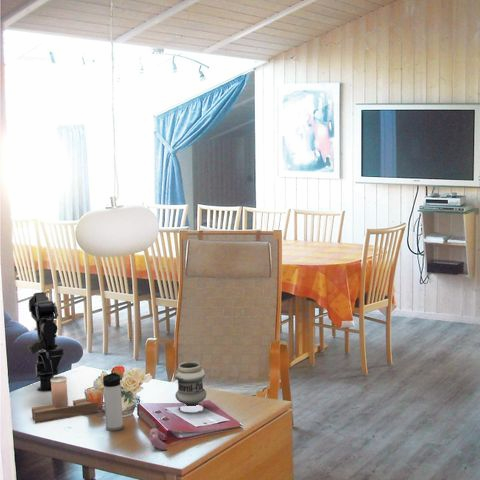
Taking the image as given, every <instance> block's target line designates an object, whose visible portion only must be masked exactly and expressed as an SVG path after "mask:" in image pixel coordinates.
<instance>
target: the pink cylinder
mask: <svg viewBox="0 0 480 480" xmlns="http://www.w3.org/2000/svg"><path fill="white" fill-rule="evenodd" d="M67 379H68V378H67V377H66V376H63V375H61V376H60V375H59V376H54V377H53V378H51V390H52V391H51V401H52V403H51V404H53V405H54V407H55V408H62V407H68V406H69V398H68V384H67V382H68V381H67Z"/></svg>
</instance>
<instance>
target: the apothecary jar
mask: <svg viewBox="0 0 480 480" xmlns="http://www.w3.org/2000/svg"><path fill="white" fill-rule="evenodd" d="M205 376H206V372H205V370H204V369H203V368H202V367H201V364H200V362H198V361H185V362H182V363H180V364H178V367H177V370H176V371H175V372H174V377H175V380H177V385H178V386H177V387H178V388H177V391H176V392H175V398H176V400H177V401H178V402H179V403H181V404H183V405H184V404H186V405H187V406H196V405H198V404H200V403H202V402H203V401H204V400H205V399H206V398H207V391H206V389H204V385H203V379H204V378H205Z"/></svg>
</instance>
